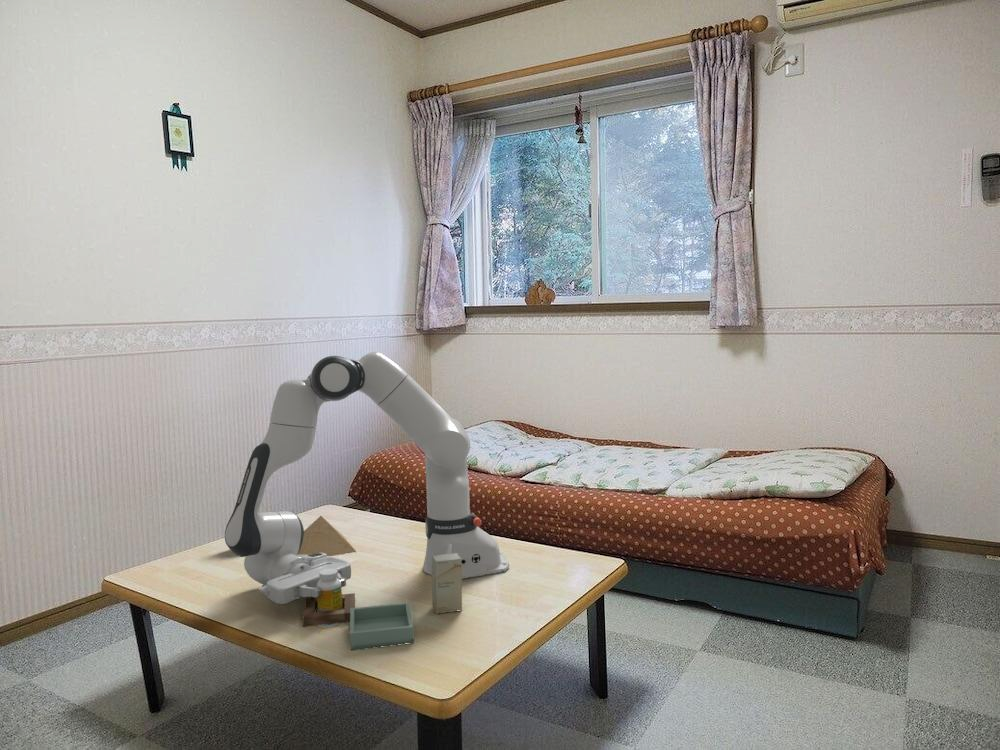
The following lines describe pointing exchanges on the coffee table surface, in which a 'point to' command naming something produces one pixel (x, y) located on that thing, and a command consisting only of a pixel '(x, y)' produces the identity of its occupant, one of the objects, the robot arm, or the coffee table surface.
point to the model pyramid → (324, 540)
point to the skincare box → (446, 583)
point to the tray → (381, 626)
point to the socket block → (327, 612)
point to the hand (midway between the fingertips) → (331, 588)
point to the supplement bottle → (329, 591)
